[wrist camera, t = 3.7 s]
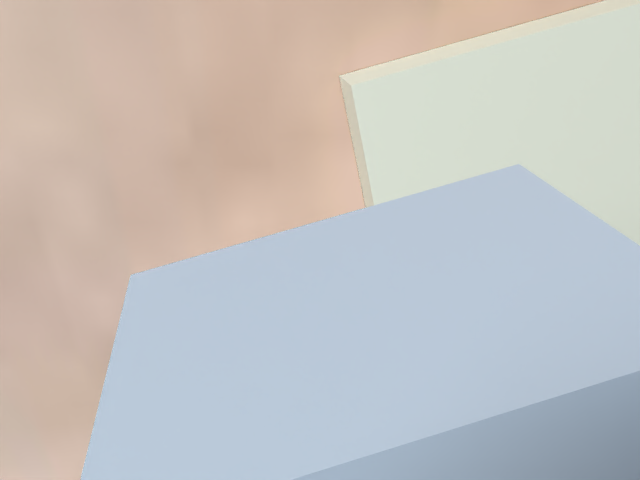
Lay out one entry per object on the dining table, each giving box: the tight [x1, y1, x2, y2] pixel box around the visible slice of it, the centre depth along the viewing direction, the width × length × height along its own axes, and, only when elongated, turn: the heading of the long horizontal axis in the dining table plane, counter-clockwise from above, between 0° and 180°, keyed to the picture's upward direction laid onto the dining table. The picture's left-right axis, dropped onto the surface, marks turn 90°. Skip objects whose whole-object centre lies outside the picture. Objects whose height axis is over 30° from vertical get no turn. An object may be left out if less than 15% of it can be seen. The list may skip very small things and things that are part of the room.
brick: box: [80, 164, 640, 480], centre depth 7 cm, size 6×6×4 cm
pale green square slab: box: [339, 0, 640, 245], centre depth 19 cm, size 12×12×2 cm
